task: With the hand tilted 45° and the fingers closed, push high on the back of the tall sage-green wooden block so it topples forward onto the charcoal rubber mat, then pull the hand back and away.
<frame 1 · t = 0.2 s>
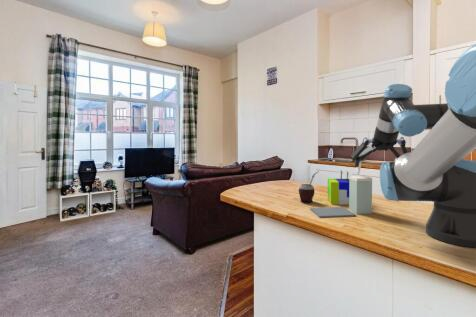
hand: (375, 172, 103), 15 cm above the worktop, tool tilted 35°, fingers open, 13 cm apart
mate gourd: (307, 202, 118), on the worktop
sage block: (360, 211, 101), on the worktop
puzzle toy: (340, 202, 118), on the worktop
rubber mat: (331, 212, 101), on the worktop
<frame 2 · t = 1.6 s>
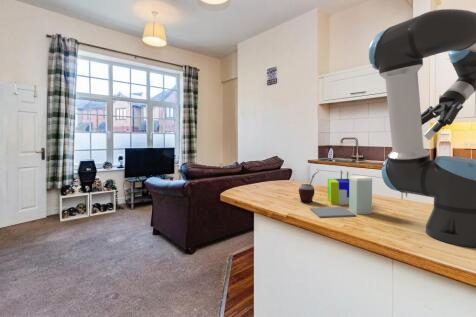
hand: (415, 137, 100), 29 cm above the worktop, tool tilted 45°, fingers open, 10 cm apart
nothing on the worktop moved.
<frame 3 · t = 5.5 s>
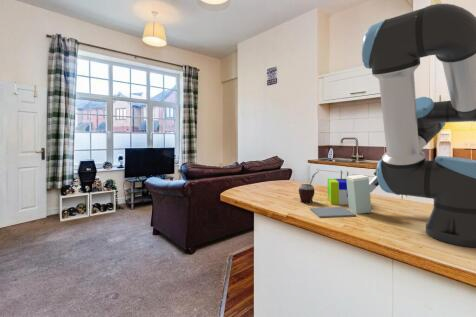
hand: (367, 190, 101), 8 cm above the worktop, tool tilted 45°, fingers closed
sage block: (360, 210, 101), on the worktop, tilted 6°
everything else where it was.
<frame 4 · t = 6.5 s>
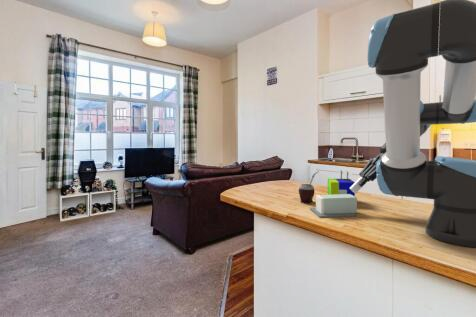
hand: (352, 190, 101), 9 cm above the worktop, tool tilted 45°, fingers closed
sage block: (353, 203, 101), point 4 cm above the worktop, tilted 90°, touching rubber mat
everything else where it was.
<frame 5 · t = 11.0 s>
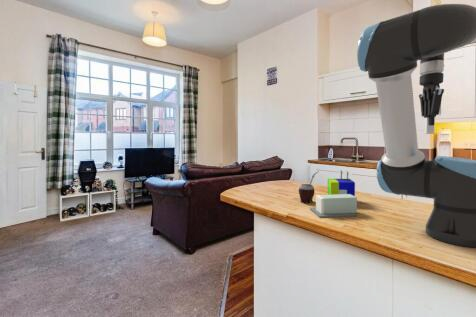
hand: (429, 133, 102), 30 cm above the worktop, tool pointing down, fingers closed
nothing on the worktop moved.
at the end: sage block tilted 90°; sage block touching rubber mat; the gripper is holding nothing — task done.
